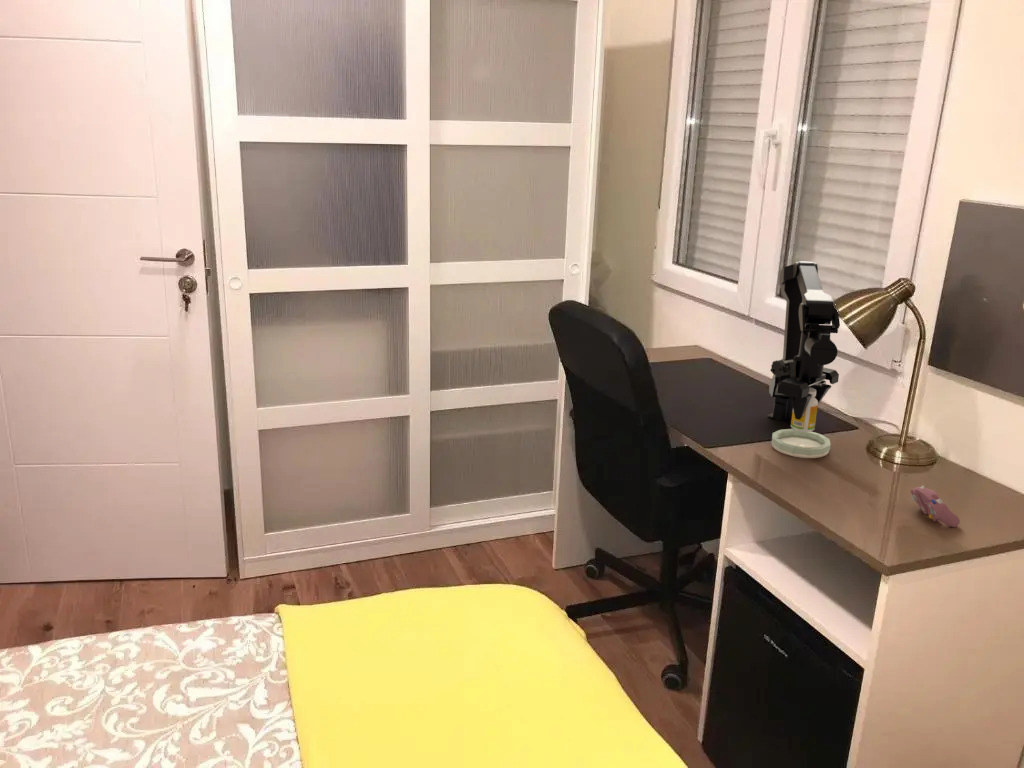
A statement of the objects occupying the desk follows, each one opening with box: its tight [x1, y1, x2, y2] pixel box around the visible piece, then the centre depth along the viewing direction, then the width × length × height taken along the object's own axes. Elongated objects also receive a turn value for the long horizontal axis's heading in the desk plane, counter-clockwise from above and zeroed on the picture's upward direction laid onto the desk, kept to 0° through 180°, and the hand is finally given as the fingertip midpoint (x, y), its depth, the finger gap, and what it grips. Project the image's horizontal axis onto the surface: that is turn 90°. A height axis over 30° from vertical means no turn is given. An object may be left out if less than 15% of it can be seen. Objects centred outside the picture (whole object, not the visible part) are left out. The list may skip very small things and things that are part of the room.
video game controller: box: [910, 485, 961, 528], centre depth 162 cm, size 10×5×7 cm, turn 4°
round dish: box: [771, 428, 831, 459], centre depth 196 cm, size 13×13×2 cm
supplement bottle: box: [790, 388, 819, 432], centre depth 194 cm, size 5×5×10 cm
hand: (803, 416), depth 194 cm, fingers closed on supplement bottle, 5 cm apart
